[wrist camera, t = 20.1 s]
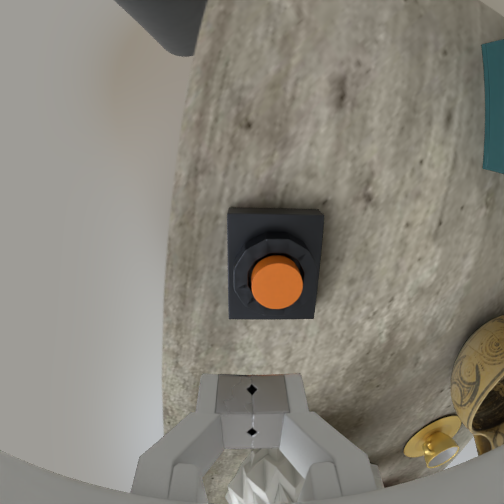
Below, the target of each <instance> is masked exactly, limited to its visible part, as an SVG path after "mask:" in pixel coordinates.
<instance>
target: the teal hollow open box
mask: <svg viewBox="0 0 504 504" xmlns="http://www.w3.org/2000/svg"><path fill="white" fill-rule="evenodd" d="M481 46H482V55H483V67H484V82H485V142H484V158H483V169H486V170H490V171H494V172H498V173H502V174H504V39H502V40H498V41H494V42H490V43H486V44H482V45H481Z"/></svg>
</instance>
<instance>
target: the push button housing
mask: <svg viewBox="0 0 504 504" xmlns="http://www.w3.org/2000/svg"><path fill="white" fill-rule="evenodd" d="M323 227H324V215H323V213H322V212H321V211H320V210H318V209H284V208H229V210H228V213H227V235H228V303H229V319H314V312H315V305H316V296H317V288H318V279H319V269H320V260H321V249H322V238H323ZM272 255H281V256H285V257H287V258H289V259H291V260H292V261H293V262H294V263H295V264H296V265H297V267H298V269H299V272H300V274H301V277H302V281H303V289H302V293H301V295H300V296H299V298H298V299H297V300H296V301H295V302H294V303H293V304H292V305H290V306H288V307H285V308H282V309H271V308H267V307H265V306H263V305H261V304H260V303H259V302H258V301H257V300H256V299H255V297H254V296H253V293H252V283H251V276H252V271H253V269H254V267H255V266H256V264H257V263H258V262H259V261H260V260H262V259H264V258H266V257H268V256H272Z"/></svg>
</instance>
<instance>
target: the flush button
mask: <svg viewBox="0 0 504 504" xmlns="http://www.w3.org/2000/svg"><path fill="white" fill-rule="evenodd" d="M251 283H252V293H253V296H254V297H255V299H256V300H257V301H258V302H259V303H260V304H261V305H263V306H265V307H267V308H271V309H282V308H285V307H288V306H290V305H292V304H293V303H294V302H295V301H296V300H297V299H298V298H299V296H300V295H301V293H302V289H303V281H302V277H301V274H300V272H299V269H298V267H297V265H296V264H295V263H294V262H293V261H292V260H291V259H289V258H287V257H285V256H281V255H272V256H268V257H266V258H264V259H262V260H260V261H259V262H258V263H257V264H256V266H255V267H254V269H253V271H252V276H251Z"/></svg>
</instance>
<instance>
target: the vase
mask: <svg viewBox="0 0 504 504" xmlns="http://www.w3.org/2000/svg"><path fill="white" fill-rule="evenodd" d="M279 449H280V448H254V450H252V451H251V453H250V454H249V455H248V456H247V457H246V458H245V460H244V461H243V462H242V463H241V465H240V467H239V469H238V471H237V473H236V475H235V477H234V478H233V479H232V480H231V482H230V483H229V484H228V489H229V490H228V492H227V494H226V496H225V498H226V499H227V501H228V503H229V504H279V503H294V502H297V500H298V498H299V495H300V492H301V490H302V487H303V484H304V481H305V479H304V478H303V477H302V475H301V474H300V473H299V472H298V471H297V470H296V469H295V467H294V466H293V465H292V464H291V463H290V462H289V460H288V459H287V458H286V457H285V456H284V454H283V453H282V452H281V451H280V450H279Z"/></svg>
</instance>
